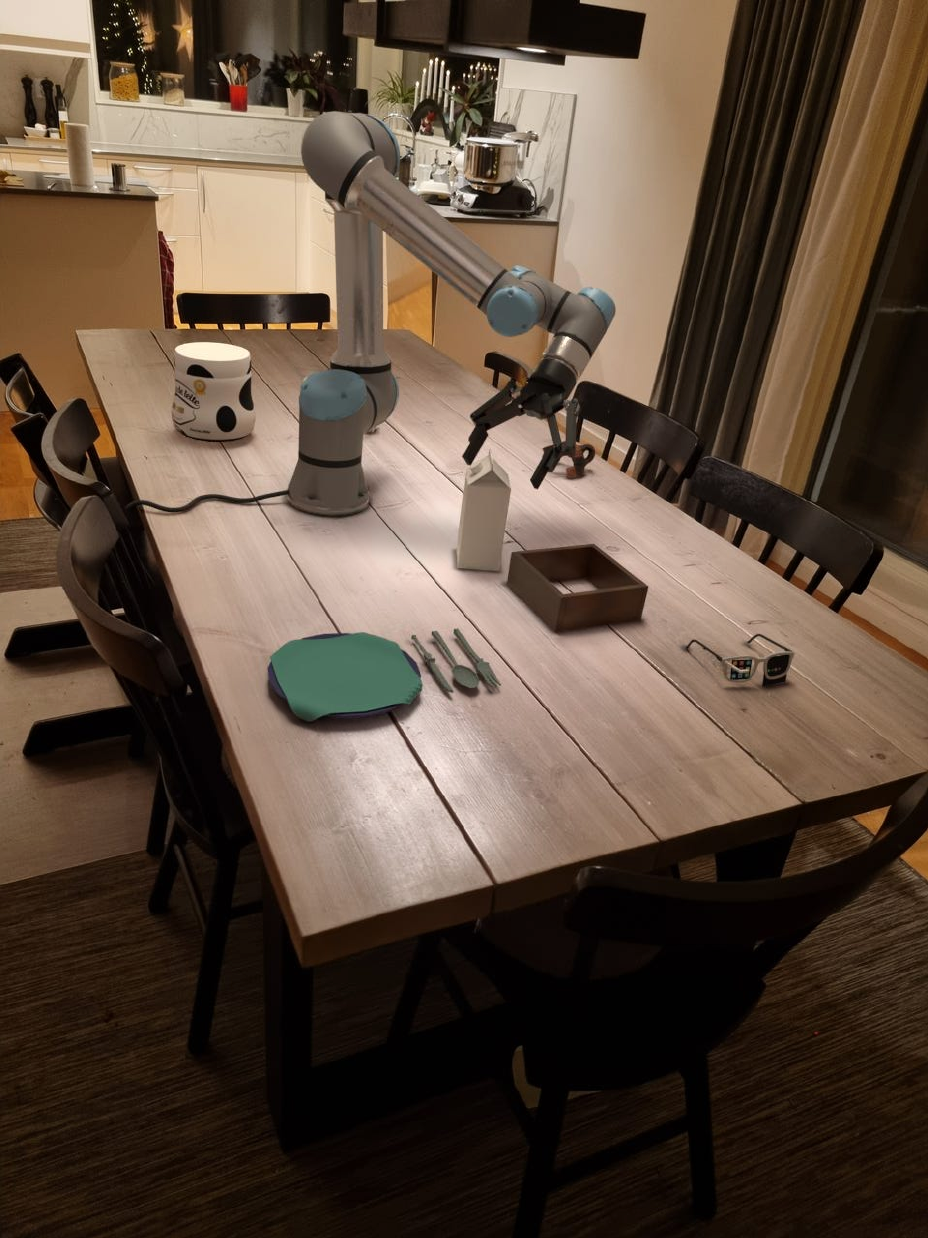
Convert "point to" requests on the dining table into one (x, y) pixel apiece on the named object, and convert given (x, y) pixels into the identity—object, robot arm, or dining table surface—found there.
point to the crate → (576, 610)
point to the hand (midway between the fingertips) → (499, 472)
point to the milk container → (213, 392)
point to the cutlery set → (358, 674)
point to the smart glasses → (756, 664)
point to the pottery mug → (578, 459)
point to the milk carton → (483, 515)
